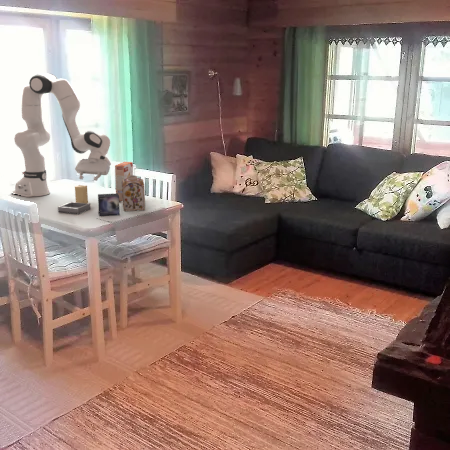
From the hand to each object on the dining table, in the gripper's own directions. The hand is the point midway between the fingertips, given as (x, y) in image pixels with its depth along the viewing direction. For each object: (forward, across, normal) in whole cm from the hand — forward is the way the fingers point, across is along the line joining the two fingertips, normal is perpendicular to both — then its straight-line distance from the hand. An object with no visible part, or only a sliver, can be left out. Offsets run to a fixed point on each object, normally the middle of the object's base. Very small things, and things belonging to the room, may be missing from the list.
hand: (87, 179), depth 308 cm
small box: (+25, +26, -7) cm, 36 cm away
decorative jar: (+14, +32, +5) cm, 35 cm away
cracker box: (+1, +17, +17) cm, 24 cm away
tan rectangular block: (+14, 0, +4) cm, 14 cm away
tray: (+24, +5, -7) cm, 26 cm away
